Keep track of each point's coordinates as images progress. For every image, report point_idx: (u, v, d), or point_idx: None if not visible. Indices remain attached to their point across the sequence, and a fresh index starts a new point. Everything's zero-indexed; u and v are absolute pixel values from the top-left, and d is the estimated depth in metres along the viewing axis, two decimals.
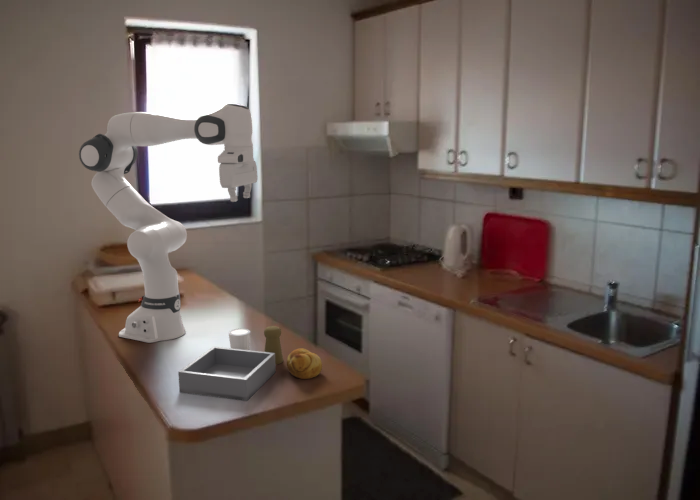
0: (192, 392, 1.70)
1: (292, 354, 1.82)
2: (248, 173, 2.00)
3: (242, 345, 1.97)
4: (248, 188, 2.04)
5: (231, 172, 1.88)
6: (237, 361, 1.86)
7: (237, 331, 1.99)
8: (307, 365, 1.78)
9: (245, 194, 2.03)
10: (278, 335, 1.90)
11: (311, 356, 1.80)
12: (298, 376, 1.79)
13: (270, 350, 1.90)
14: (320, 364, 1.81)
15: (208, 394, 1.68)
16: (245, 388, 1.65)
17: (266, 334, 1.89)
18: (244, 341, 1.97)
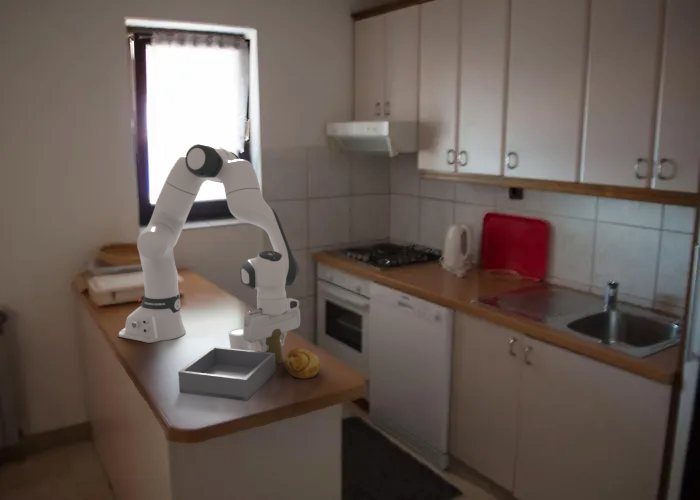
0: (192, 392, 1.70)
1: (290, 354, 1.82)
2: None
3: (242, 345, 1.97)
4: None
5: None
6: (237, 361, 1.86)
7: (237, 331, 1.99)
8: (305, 365, 1.78)
9: None
10: (278, 335, 1.90)
11: (309, 356, 1.81)
12: (296, 376, 1.79)
13: (270, 350, 1.90)
14: (318, 364, 1.81)
15: (208, 394, 1.68)
16: (245, 388, 1.65)
17: None
18: (244, 341, 1.97)
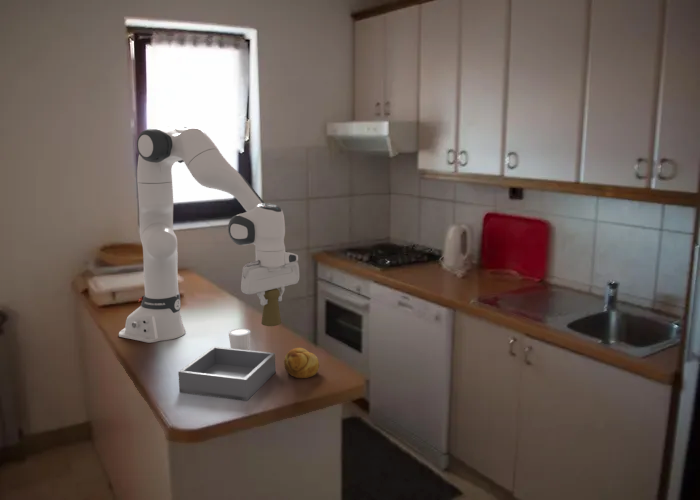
0: (192, 392, 1.70)
1: (289, 353, 1.82)
2: None
3: (242, 345, 1.97)
4: None
5: None
6: (237, 361, 1.86)
7: (237, 331, 1.99)
8: (303, 364, 1.78)
9: None
10: (276, 296, 1.87)
11: (308, 356, 1.81)
12: (294, 375, 1.79)
13: (268, 311, 1.87)
14: (317, 364, 1.81)
15: (208, 394, 1.68)
16: (245, 388, 1.65)
17: (264, 295, 1.87)
18: (244, 341, 1.97)
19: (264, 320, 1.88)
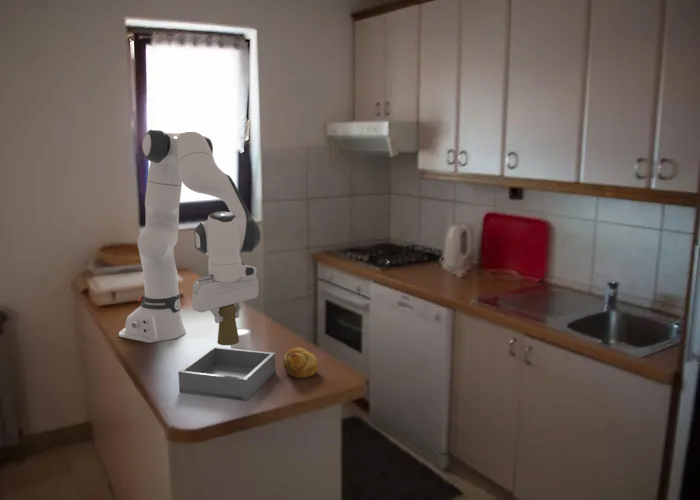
0: (192, 392, 1.70)
1: (289, 353, 1.83)
2: None
3: (242, 345, 1.97)
4: None
5: None
6: (237, 361, 1.86)
7: (237, 331, 1.99)
8: (302, 364, 1.78)
9: None
10: (232, 313, 1.72)
11: (307, 355, 1.81)
12: (293, 375, 1.79)
13: (223, 329, 1.72)
14: (316, 364, 1.81)
15: (208, 394, 1.68)
16: (245, 388, 1.65)
17: (219, 311, 1.71)
18: (244, 341, 1.97)
19: (220, 339, 1.73)
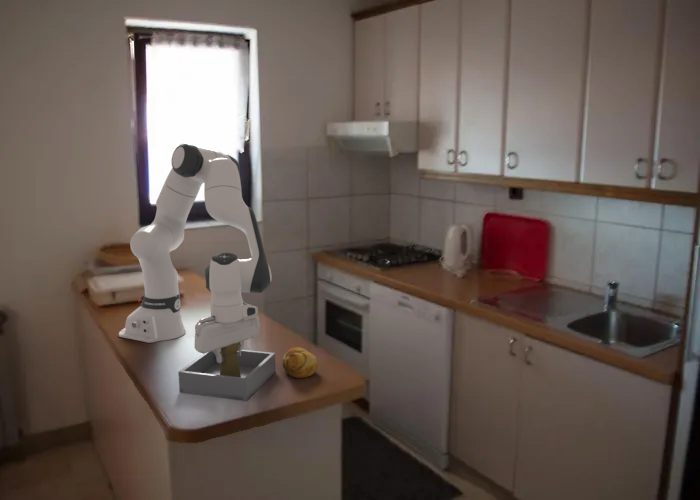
0: (192, 392, 1.70)
1: (288, 353, 1.83)
2: None
3: None
4: None
5: None
6: None
7: None
8: (301, 364, 1.78)
9: None
10: (234, 350, 1.74)
11: (306, 355, 1.81)
12: (292, 375, 1.80)
13: (225, 366, 1.74)
14: (315, 364, 1.81)
15: (208, 394, 1.68)
16: (245, 388, 1.65)
17: (221, 349, 1.74)
18: (244, 341, 1.97)
19: None
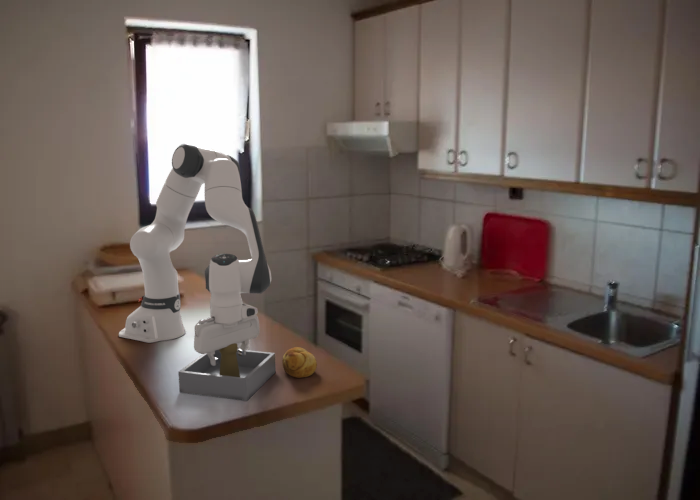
0: (192, 392, 1.70)
1: (287, 353, 1.83)
2: None
3: None
4: None
5: None
6: None
7: None
8: (300, 364, 1.78)
9: None
10: (233, 351, 1.74)
11: (305, 355, 1.81)
12: (292, 375, 1.80)
13: (225, 367, 1.74)
14: (314, 364, 1.81)
15: (208, 394, 1.68)
16: (245, 388, 1.65)
17: (220, 349, 1.74)
18: None
19: None
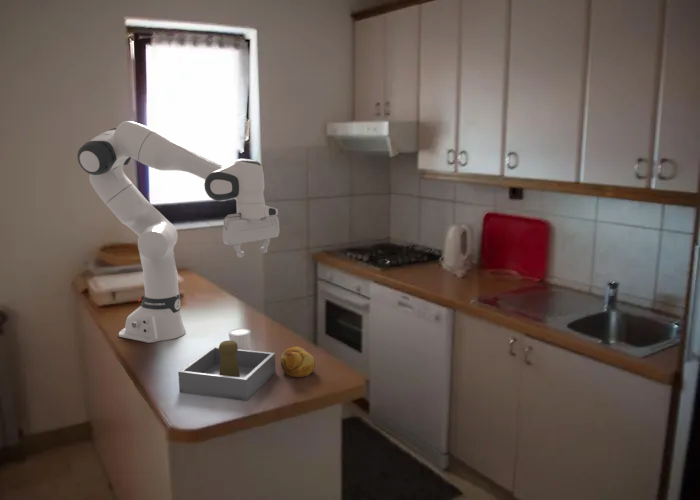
0: (192, 392, 1.70)
1: (286, 352, 1.83)
2: None
3: (242, 345, 1.97)
4: None
5: None
6: None
7: (237, 331, 1.99)
8: (298, 363, 1.79)
9: None
10: (233, 351, 1.74)
11: (303, 355, 1.81)
12: (289, 374, 1.80)
13: (225, 367, 1.74)
14: (312, 363, 1.81)
15: (208, 394, 1.68)
16: (245, 388, 1.65)
17: (220, 349, 1.74)
18: (244, 341, 1.97)
19: None
